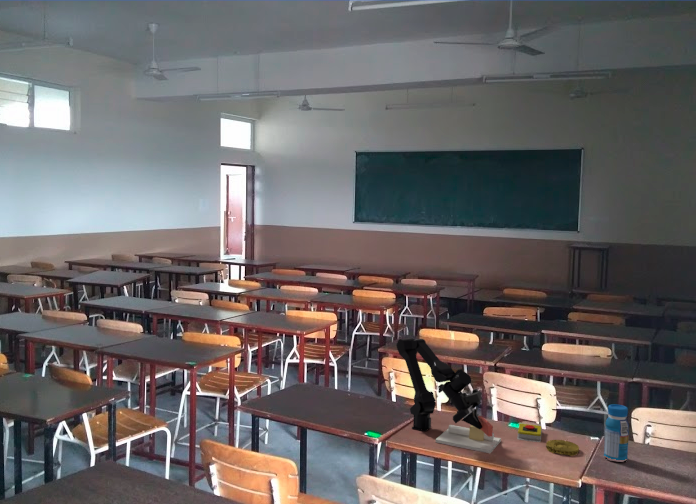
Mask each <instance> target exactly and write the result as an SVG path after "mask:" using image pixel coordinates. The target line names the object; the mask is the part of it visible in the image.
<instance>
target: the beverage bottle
mask: <svg viewBox="0 0 696 504" xmlns="http://www.w3.org/2000/svg"><path fill="white" fill-rule="evenodd" d="M628 411H629V409H628V406H625V405H622V404H619V403H618V404H614V403H612V404H609V405H608V407H607V414H608V417H607V418H606V420H605V426H604V427H605V428H604V448H603V457H604V456H606V457H608V458H611V459H616V460H625V459H627V460H628V452H629V436H630V431H629V428H630V425H629V421H628V420H627V417H628V413H629V412H628Z"/></svg>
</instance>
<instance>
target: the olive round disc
mask: <svg viewBox="0 0 696 504" xmlns="http://www.w3.org/2000/svg"><path fill="white" fill-rule="evenodd" d="M545 448H546V450H547V452H549V453H552V454H558V455H563V456H564V455H566V456H569V457H574V456H577V455H578V454H579V451H580V447H579V445H577V444H576V443H575V442H571V441H568V440H563V439H550V440H547V441H546V442H545Z"/></svg>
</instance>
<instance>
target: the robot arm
mask: <svg viewBox="0 0 696 504" xmlns="http://www.w3.org/2000/svg"><path fill="white" fill-rule="evenodd" d="M396 349H397V352H398V354H399V355H400V357H401V358H402V359H404V361H405V364H406V367H407V370H408V375H409V377H410V381H411V383H412V386H413V389H414V396H413V403H414V404H413V405H412V406H411V407H410V408H409V410H410V415H413V424H412V426H411V429H412V430H418V431H422V432H427V431H428V430H430V429H431V427H432V417H431V414H434V412H435V408H436V405H437V403H436V401H437V400H436V398H435V395H434V392H433V391H430V390H428V389H427V387H426V386H427V385H426V383H425V380H424V377H423V373H422V371H421V367H420V364H419V361H418V358H417V354H419V355H420V357H421V358H422V359H423V360H424V362H425V363H426V364H427V365H428V367H429V369H430V373H431V375H432V377H433V379H434V381H435V382H437V383H441V384H440V385H438V393H441V392H443V393H444V395H445V396H446V397H447V399H448V400H449V401H450V402H449V404H450V405H451V406H453V407H454V408H455V409H456V413H455V414H454V415H453V416H452V420H453V422H454V423H455V424H458V422H460V421H461V422H465V423H466V424H468V425H469V426H471V425H472V426H474V427H476V428H478V429H481V428H482V425H481V423H480V420H479V418H478V415H477V414H478V409H479V408H478V406H479V405H480V404H482V402H481V401H482V400H483V398H482V392H481V391H480V390H478V388H474V389H472V390H471V393H469V394H467V393H466V392H462V391H463V390H464V389H465V388H466V387H468V386H469V385H470V384H471V383H472V377H471V376H470V374H469V373H467V372H466V371H464V370H463V369H462V368H461V369H457V370H456V371H455V370H453V368H452V367H451V366H449V365H448V364H447V363H446V362H444V361H442V360H440V358H439V357H438V356H437V355H436V354H435V352H434V351H433V350H432V349H431V348H430V346H429V344H427V343H426V340H425V339H424V338H416V339H414V338H413V337H408V338H400V339H398V340H397V342H396ZM444 382H445V383H444ZM443 383H444V384H443Z"/></svg>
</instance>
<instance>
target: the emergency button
mask: <svg viewBox="0 0 696 504" xmlns="http://www.w3.org/2000/svg"><path fill="white" fill-rule="evenodd" d="M542 433H543V431H542V426H541V425H537V424H528V423H519V425H518V430H517V438H516V439H517V440H519V441H527V442H534V443H542Z"/></svg>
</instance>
